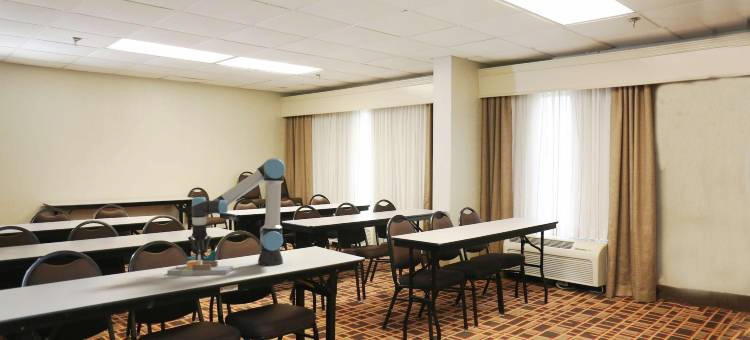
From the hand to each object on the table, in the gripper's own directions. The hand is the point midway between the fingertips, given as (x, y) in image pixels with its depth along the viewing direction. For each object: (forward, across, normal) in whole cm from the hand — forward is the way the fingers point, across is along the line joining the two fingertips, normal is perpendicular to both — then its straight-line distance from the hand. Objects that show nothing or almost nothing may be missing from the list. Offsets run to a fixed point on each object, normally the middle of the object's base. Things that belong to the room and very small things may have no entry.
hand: (200, 265), depth 301 cm
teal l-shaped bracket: (+4, +7, -18) cm, 20 cm away
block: (+2, +4, 0) cm, 4 cm away
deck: (+4, -1, 0) cm, 4 cm away
